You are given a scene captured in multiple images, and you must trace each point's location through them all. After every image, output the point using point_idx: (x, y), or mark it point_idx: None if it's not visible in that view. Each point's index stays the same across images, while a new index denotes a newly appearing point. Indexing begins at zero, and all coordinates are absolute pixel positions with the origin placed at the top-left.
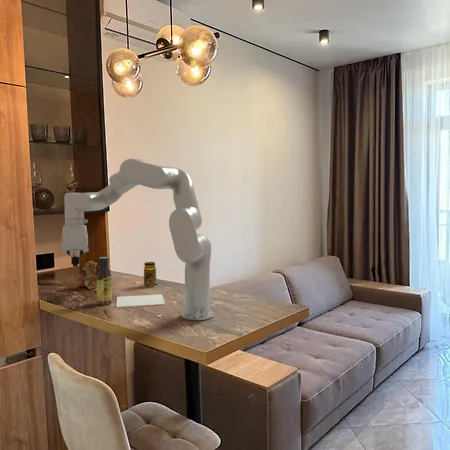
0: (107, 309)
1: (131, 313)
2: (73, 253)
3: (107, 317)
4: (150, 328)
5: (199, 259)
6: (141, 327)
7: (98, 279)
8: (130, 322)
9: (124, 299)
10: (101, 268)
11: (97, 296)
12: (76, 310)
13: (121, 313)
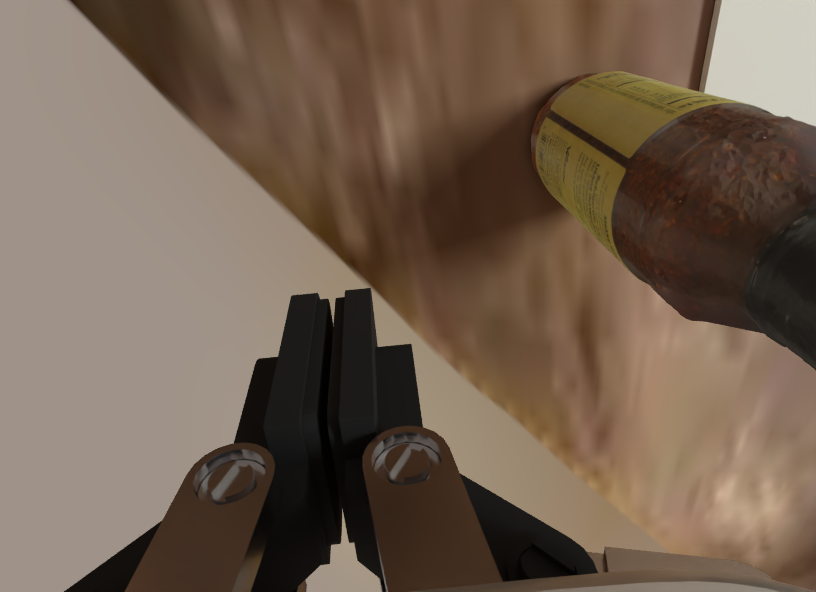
0: (602, 295)
1: (736, 386)
2: (257, 538)
3: (592, 436)
4: (758, 567)
5: None
6: (726, 557)
7: (637, 274)
8: (695, 506)
9: (781, 56)
10: (765, 334)
11: (554, 195)
12: (387, 293)
13: (679, 381)
